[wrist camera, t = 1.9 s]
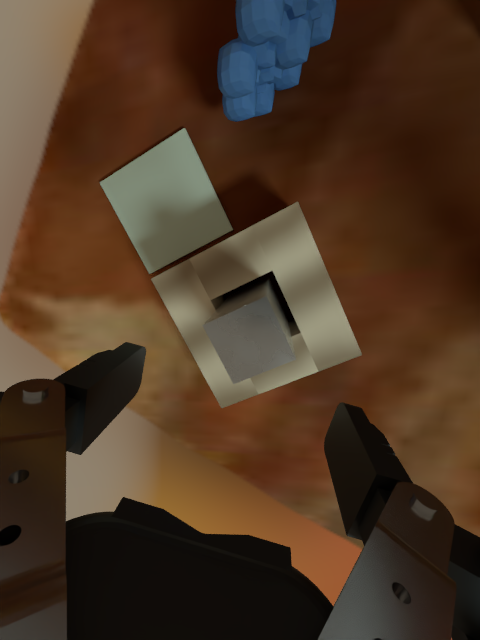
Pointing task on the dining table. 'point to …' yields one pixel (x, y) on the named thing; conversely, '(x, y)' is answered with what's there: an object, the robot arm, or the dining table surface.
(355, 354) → the holder
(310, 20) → the grapes
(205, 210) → the mat
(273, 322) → the peg
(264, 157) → the dining table surface
